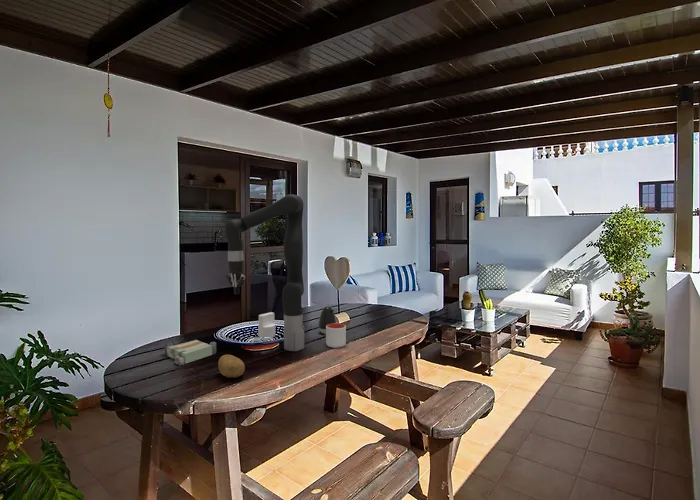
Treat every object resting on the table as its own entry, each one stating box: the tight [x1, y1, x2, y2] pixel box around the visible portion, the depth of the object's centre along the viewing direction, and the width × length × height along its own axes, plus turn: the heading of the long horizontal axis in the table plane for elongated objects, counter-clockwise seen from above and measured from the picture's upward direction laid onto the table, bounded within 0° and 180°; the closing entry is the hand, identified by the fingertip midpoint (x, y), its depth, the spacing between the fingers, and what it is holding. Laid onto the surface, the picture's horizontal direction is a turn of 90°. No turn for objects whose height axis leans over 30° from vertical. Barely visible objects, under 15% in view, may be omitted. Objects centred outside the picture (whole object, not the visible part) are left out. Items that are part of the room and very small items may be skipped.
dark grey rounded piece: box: [318, 305, 337, 335], centre depth 223 cm, size 10×10×15 cm
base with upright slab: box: [257, 311, 276, 338], centre depth 218 cm, size 9×9×12 cm
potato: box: [217, 354, 246, 379], centre depth 163 cm, size 10×14×8 cm
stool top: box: [164, 339, 208, 367], centre depth 186 cm, size 20×17×5 cm
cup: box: [325, 322, 347, 349], centre depth 203 cm, size 10×10×10 cm
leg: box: [181, 341, 217, 365], centre depth 184 cm, size 17×3×5 cm, turn 145°
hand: (236, 294), depth 201 cm, fingers closed
